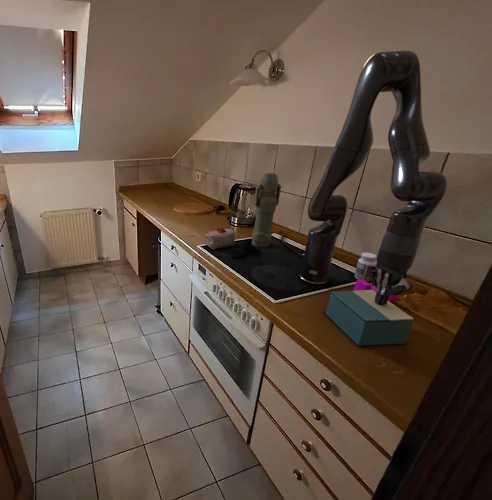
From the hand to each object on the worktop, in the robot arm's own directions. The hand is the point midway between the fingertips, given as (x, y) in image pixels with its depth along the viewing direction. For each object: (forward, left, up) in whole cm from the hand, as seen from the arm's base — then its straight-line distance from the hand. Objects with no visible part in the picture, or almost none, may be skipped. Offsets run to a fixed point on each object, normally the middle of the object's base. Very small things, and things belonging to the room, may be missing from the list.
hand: (379, 303), depth 86 cm
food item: (-71, -16, -8) cm, 73 cm away
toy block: (-14, +14, -8) cm, 21 cm away
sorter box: (-1, -3, -8) cm, 9 cm away
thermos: (-68, +5, -8) cm, 68 cm away
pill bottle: (-26, +23, -8) cm, 35 cm away
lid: (0, 0, 0) cm, 0 cm away
